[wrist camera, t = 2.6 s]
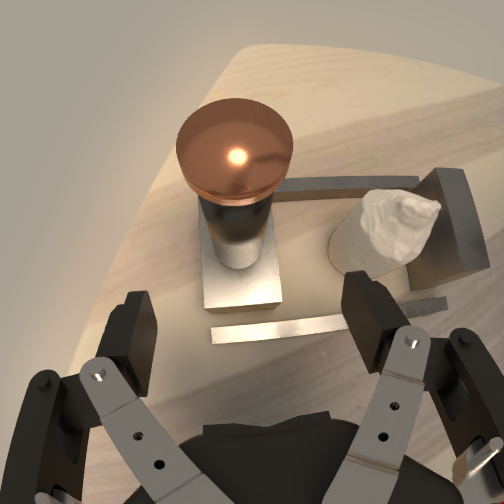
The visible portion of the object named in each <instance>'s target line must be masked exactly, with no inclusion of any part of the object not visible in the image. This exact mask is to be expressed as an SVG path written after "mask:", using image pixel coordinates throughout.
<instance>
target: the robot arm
mask: <svg viewBox="0 0 504 504" xmlns="http://www.w3.org/2000/svg"><path fill="white" fill-rule="evenodd" d="M341 309H342V314H343V317H344V319H345V321H346V323H347V326H348V328H349V330H350V332H351V334H352V336H353V339H354V341H355V343H356V345H357V348H358V350H359V352H360V354H361V356H362V359H363V361H364V363H365V366H366V368H367V370H368V372H369V374H371V373H375V372H379V374H380V379H379V382H378V384H377V387H376V389H375V392H374V394H373V397H372V399H371V402H370V404H369V407H368V409H367V411H366V414H365V416H364V418H363V420H362V423H361V425H360V426H358V425H356V424H354V423H351V422H348V421H344V420H338V419H331V417H330V414H329V411H325V412H319V413H313V414H307V415H301V416H297V417H294V418H292V419H289V420H287V421H284V422H281V423H278V424H276V425H273V426H270V427H260V426H251V425H243V424H235V423H232V424H218V425H203V434H200V435H197V436H195V437H192V438H190V439H188V440H186V441H184V442H183V443H181V444H180V445H177V444H176V443H175V442H174V441H173V439H172V438H171V437H170V436H169V435H168V433H167V432H166V431H165V430H164V428H163V427H162V426H161V425H160V423H159V422H158V421H157V420H156V418H155V417H154V416H153V415H152V413H151V412H150V411H149V409H148V408H147V407H146V405H145V404H144V403H143V401H142V400H141V399H140V398H139V397H147V394H148V387H149V380H150V374H151V368H152V361H153V355H154V350H155V344H156V338H157V321H156V317H155V314H154V310H153V307H152V304H151V300H150V297H149V294H148V292H147V291H132V292H128V294H127V297H126V300H125V303H124V304H121V305H117V306H116V308H115V309H114V310H113V311H112V312H111V313H110V316H109V319H108V321H107V324H106V327H105V332H104V333H103V335H102V338H101V341H100V344H99V347H98V350H97V353H96V356H95V358H93V359H91V360H89V361H87V362H86V363H85V364H84V365H83V366H82V368H81V370H80V373H79V374H75V375H71V376H67V377H63V378H60V377H59V375H58V374H57V373H56V372H55V371H53V370H43V371H40V372H38V373H37V374H36V375H35V376H34V377H33V378H32V379H31V381H30V383H29V386H28V388H27V391H26V394H25V397H24V400H23V403H22V406H21V410H20V413H19V416H18V419H17V423H16V427H15V430H14V433H13V437H12V441H11V444H10V448H9V452H8V457H7V461H6V465H5V470H4V474H3V479H2V485H1V490H0V504H83V503H81V501H82V489H83V479H84V469H85V461H86V453H87V446H88V439H89V432H90V428H93V427H97V426H101V425H103V426H104V428H105V430H106V431H107V433H108V435H109V436H110V438H111V440H112V441H113V443H114V445H115V446H116V448H117V449H118V451H119V452H120V454H121V456H122V457H123V459H124V460H125V462H126V463H127V465H128V466H129V468H130V469H131V470H132V472H133V473H134V475H135V476H136V478H137V479H138V480H139V482H140V483H141V486H140V487H139V488H138V489H137V490H136V491H135V492H134V493H133V494H132V495H131V496H130V497H129V498H128V499H127V500H126V501H125V502H124V503H123V504H500V503H501V502H503V501H504V376H503V374H502V373H501V371H500V369H499V368H498V366H497V364H496V363H495V361H494V360H493V358H492V356H491V355H490V353H489V352H488V350H487V349H486V347H485V346H484V344H483V343H482V341H481V340H480V338H479V337H478V335H477V334H476V333H474V332H473V331H471V330H469V329H466V328H457V329H454V330H453V331H452V332H451V334H450V336H449V338H430V336H429V335H428V333H427V332H426V331H425V330H423V329H422V328H420V327H417V326H412V325H411V324H410V323H409V321H408V320H407V318H406V316H405V315H404V313H403V312H402V310H401V309H400V307H399V306H398V304H397V303H396V301H395V300H394V298H393V297H391V294H390V293H389V291H388V290H387V288H386V287H385V286H384V285H382V284H381V283H379V282H378V281H371V279H370V278H369V276H368V275H367V273H366V272H365V271H364V270H360V271H352V272H346V274H345V278H344V285H343V293H342V300H341ZM462 382H463V383H462ZM463 384H464V385H463ZM464 386H465V387H464ZM465 388H466V389H465ZM466 390H467V391H466ZM423 391H429V393H430V395H431V397H432V400H433V402H434V404H435V406H436V409H437V411H438V413H439V416H440V418H441V420H442V423H443V425H444V428H445V430H446V432H447V435H448V437H449V440H450V442H451V445H452V448H453V450H454V453H455V455H456V458H457V459H456V460H455V462H454V464H453V468H452V473H453V477H452V481H453V483H452V482H450V481H449V480H447V479H446V478H444V477H442V476H440V475H439V474H437V473H435V472H433V471H432V470H430V469H428V468H427V467H425V466H423V465H421V464H420V463H418V462H416V461H415V460H413V459H411V458H410V457H408V456H406V455H405V451H406V448H407V445H408V442H409V439H410V436H411V433H412V429H413V426H414V423H415V419H416V416H417V412H418V409H419V405H420V401H421V398H422V394H423ZM467 392H468V393H467Z"/></svg>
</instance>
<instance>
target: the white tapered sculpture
mask: <svg viewBox="0 0 504 504" xmlns="http://www.w3.org/2000/svg"><path fill="white" fill-rule="evenodd" d="M440 209H441V204H439V203H438V201H436V200H435V201H432V200H428V199H426V198H423V197H421V196H419V195H416V194H413V193H410V192H407V191H403V190H398V189H397V190H381V189H375V190H370V191H369V192H368V193H367V194H366V195H365V196H364V197H363V198H362V199H361V200H360V201H359V202H358V203H357V204H356V206H355V207H354V208H353V209H352V211H351V212H350V213H349V214H348V216H347V217H346V218H345V219H344V220H343V221H342V223H341V224H340V225H339V226H338V227H337V228H336V230H335V231H334V233H333V234H332V236H331V238H330V241H329V246H328V255H329V259H330V261H331V263H332V265H333V266H334V267H335V268H336V269H337V270H338V271H339V272H340V273H342V274H344V275H345V274H346V272H352V271H360V270H364V271H365V272H366V273H367V275H368V276H369V278H370V279H372V278H375V277H378V276H381V275H383V274H385V273H388V272H390V271H392V270H394V269H397V268H399V267H401V266H403V265H405V264H407V263H409V262H411V261H412V260H414V259H415V258H416V257H417V256H418V255H419V254H420V253H421V251H422V249H423V247H424V245H425V243H426V241H427V239H428V238H429V236H430V233H431V229H432V227H433V225H434V222H435V220H436V219H437V216H438V212H439V210H440Z"/></svg>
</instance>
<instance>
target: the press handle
mask: <svg viewBox="0 0 504 504" xmlns="http://www.w3.org/2000/svg"><path fill="white" fill-rule="evenodd" d="M292 152H293V138H292V134H291V131H290V129H289V127H288V125H287V123H286V122H285V120H284V119H283V118H282V117H281V116H280V115H279V114H278V113H277V112H276V111H274V110H273V109H272V108H270V107H268V106H266V105H264V104H262V103H260V102H257V101H253V100H248V99H240V98H230V99H223V100H218V101H215V102H212V103H209V104H207V105H205V106H203V107H201V108H200V109H198V110H197V111H195V112H194V113H193V114H192V115H191V116H190V117H188V119H187V120H186V121H185V122H184V124H183V125H182V127H181V129H180V131H179V133H178V137H177V142H176V153H177V157H178V161H179V164H180V167H181V170H182V173H183V175H184V178H185V180H186V182H187V183H188V185H189V186H190V187H191V188H192V190H193V191H195V192H196V193H197V194H198V204H199V227H200V246H201V263H202V279H203V294H204V307H205V309H206V310H207V311H208V312H210V313H211V314H220V313H232V312H244V311H255V310H265V309H275V308H276V307H277V306H278V305H279V304H280V303H281V302H282V294H281V285H280V276H279V268H278V259H277V251H276V242H275V234H274V226H273V218H272V210H271V205H272V200H273V196H274V191H275V190H276V189H277V188H278V187H279V186H280V185H281V183H282V182H283V180H284V178H285V177H286V174H287V171H288V168H289V164H290V160H291V156H292Z"/></svg>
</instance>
